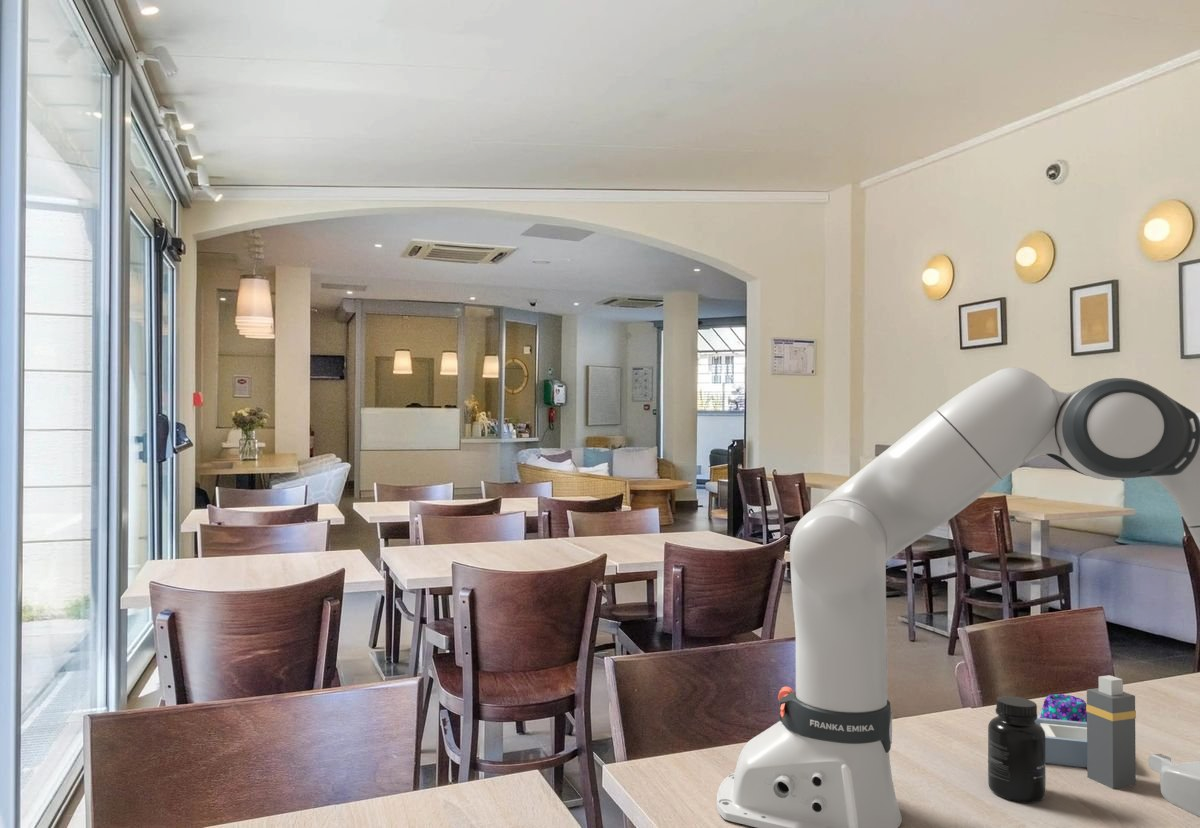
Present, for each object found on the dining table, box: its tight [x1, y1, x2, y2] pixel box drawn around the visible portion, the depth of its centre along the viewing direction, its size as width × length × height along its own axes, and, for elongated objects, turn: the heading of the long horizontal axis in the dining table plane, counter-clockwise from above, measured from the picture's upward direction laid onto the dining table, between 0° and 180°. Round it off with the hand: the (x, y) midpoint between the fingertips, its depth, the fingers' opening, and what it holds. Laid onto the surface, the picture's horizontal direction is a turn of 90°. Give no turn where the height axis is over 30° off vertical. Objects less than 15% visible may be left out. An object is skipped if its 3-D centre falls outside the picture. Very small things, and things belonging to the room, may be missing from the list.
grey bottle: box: [1086, 674, 1137, 790], centre depth 114 cm, size 4×4×14 cm
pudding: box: [1037, 693, 1087, 722], centre depth 134 cm, size 12×12×5 cm
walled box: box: [1035, 718, 1087, 768], centre depth 124 cm, size 14×9×4 cm, turn 73°
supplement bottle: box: [987, 695, 1047, 804], centre depth 111 cm, size 7×7×12 cm
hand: (1181, 755), depth 105 cm, fingers open, 8 cm apart
